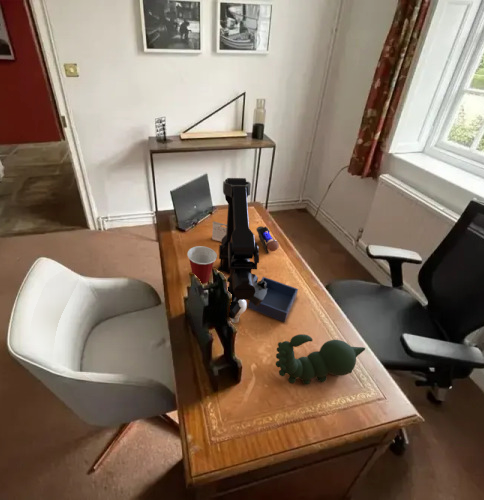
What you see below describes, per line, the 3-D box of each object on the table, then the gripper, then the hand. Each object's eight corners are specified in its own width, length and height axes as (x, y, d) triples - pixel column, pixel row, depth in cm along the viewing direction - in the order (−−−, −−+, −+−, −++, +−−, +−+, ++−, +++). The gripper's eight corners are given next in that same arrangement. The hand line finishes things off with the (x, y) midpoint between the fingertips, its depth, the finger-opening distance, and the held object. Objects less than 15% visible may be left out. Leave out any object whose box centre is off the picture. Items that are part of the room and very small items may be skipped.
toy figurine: (281, 398, 85) (367, 380, 88) (287, 356, 74) (385, 337, 77) (270, 367, 93) (350, 352, 96) (274, 325, 82) (364, 309, 84)
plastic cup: (218, 286, 118) (220, 261, 111) (189, 290, 116) (189, 264, 109) (212, 268, 126) (213, 243, 119) (186, 271, 124) (185, 246, 117)
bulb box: (248, 307, 110) (249, 298, 107) (261, 285, 119) (263, 276, 117) (284, 322, 105) (286, 313, 102) (295, 297, 114) (298, 288, 112)
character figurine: (267, 236, 147) (277, 256, 135) (252, 236, 145) (261, 256, 134) (270, 222, 142) (282, 241, 131) (255, 222, 141) (265, 241, 129)
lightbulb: (224, 314, 107) (226, 290, 100) (242, 313, 107) (245, 290, 101) (226, 329, 102) (228, 305, 95) (245, 328, 102) (249, 304, 96)
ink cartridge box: (213, 236, 145) (214, 218, 139) (236, 242, 141) (238, 224, 136) (211, 239, 143) (212, 221, 137) (234, 245, 139) (236, 227, 134)
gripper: (252, 305, 83) (247, 342, 92) (276, 266, 96) (269, 302, 106) (215, 290, 87) (213, 327, 96) (242, 255, 100) (239, 290, 110)
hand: (235, 311), depth 102 cm, fingers closed on lightbulb, 6 cm apart
